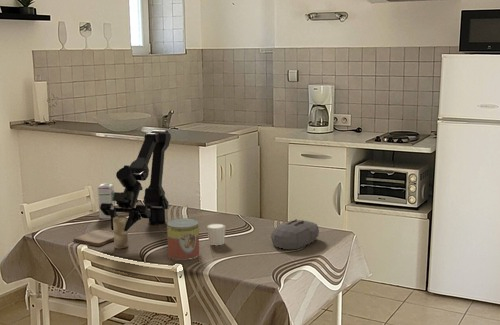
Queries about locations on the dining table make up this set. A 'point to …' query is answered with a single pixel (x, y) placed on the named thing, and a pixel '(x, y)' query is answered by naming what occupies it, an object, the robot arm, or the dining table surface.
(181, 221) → the canned food
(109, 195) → the white plastic bottle
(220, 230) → the white short cylinder
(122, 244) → the birch peg
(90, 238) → the walnut board
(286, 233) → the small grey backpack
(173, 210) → the dining table surface
